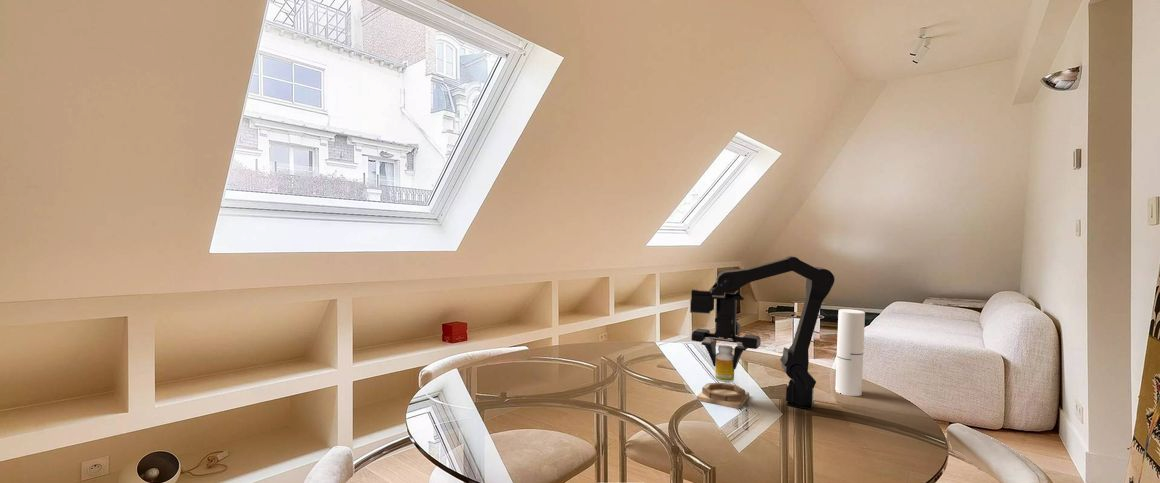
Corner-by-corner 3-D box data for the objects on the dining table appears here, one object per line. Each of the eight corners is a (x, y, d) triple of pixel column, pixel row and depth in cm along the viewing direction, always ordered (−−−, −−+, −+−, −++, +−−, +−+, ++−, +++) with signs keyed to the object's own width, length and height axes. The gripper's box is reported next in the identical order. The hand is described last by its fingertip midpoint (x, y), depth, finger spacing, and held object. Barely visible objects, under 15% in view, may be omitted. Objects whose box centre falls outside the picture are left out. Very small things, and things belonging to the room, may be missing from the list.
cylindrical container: (864, 397, 154) (868, 314, 153) (839, 395, 155) (842, 312, 154) (857, 389, 161) (860, 309, 160) (832, 387, 162) (835, 308, 161)
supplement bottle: (735, 383, 147) (736, 349, 147) (716, 382, 148) (717, 348, 147) (732, 377, 153) (733, 344, 152) (713, 376, 153) (714, 344, 153)
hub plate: (749, 396, 152) (749, 387, 152) (739, 408, 142) (739, 399, 142) (709, 388, 159) (709, 380, 158) (696, 400, 148) (697, 391, 148)
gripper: (765, 313, 151) (763, 365, 152) (702, 307, 161) (701, 356, 162) (757, 319, 142) (755, 375, 143) (691, 312, 151) (690, 365, 152)
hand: (724, 367), depth 150 cm, fingers closed on supplement bottle, 5 cm apart
